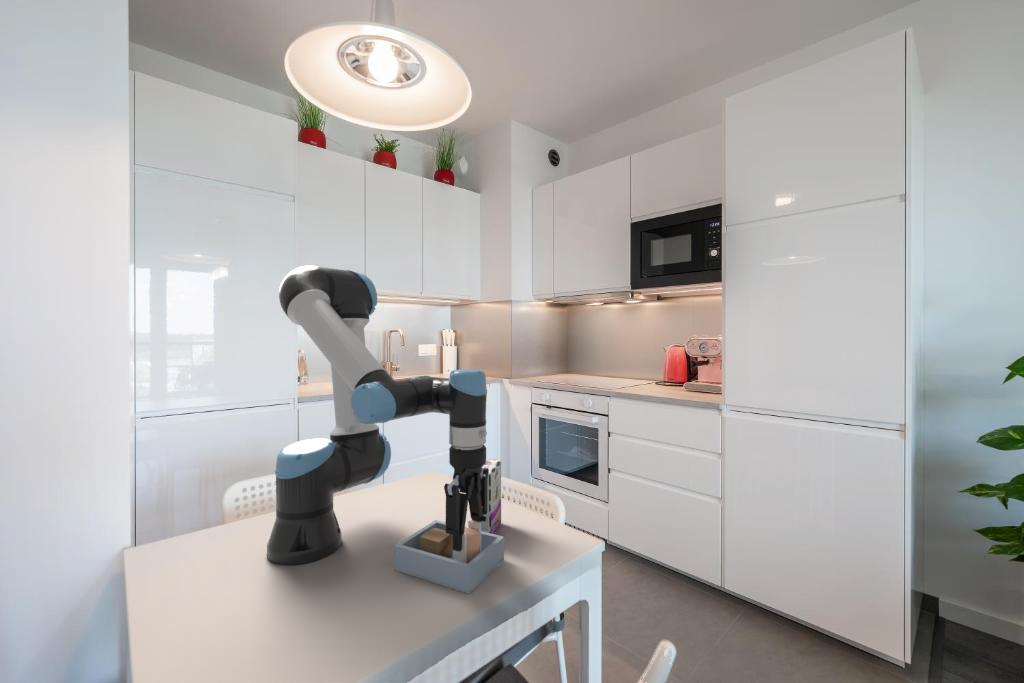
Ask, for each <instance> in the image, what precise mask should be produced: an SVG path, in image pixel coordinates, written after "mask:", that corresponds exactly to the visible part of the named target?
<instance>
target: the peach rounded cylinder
mask: <svg viewBox="0 0 1024 683" xmlns="http://www.w3.org/2000/svg"><path fill="white" fill-rule="evenodd" d="M464 532H465V533H467V564H468V563H469V562H470V561H471V560H473V559H474V558H475V557H476V556H477V555H478V554H480V531H479V530H478V529H474V528H468V527H466V528H465V530H464Z"/></svg>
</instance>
